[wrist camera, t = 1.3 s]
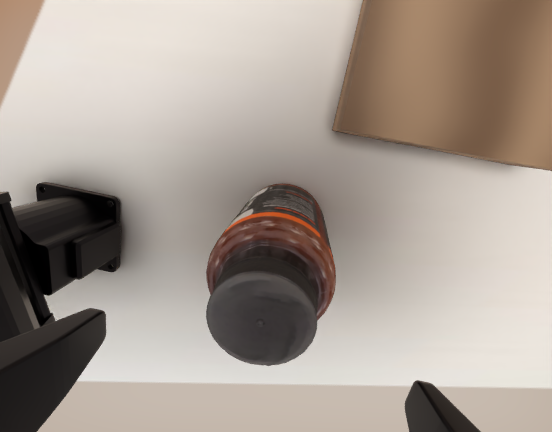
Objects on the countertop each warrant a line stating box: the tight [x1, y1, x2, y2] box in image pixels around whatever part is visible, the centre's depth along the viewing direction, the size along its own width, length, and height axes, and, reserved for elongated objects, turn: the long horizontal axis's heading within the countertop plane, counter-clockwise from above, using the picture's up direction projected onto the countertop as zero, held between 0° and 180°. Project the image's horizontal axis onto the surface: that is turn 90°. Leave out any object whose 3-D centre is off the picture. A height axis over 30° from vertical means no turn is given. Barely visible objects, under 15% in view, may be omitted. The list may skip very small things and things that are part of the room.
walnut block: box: [332, 0, 552, 171], centre depth 14 cm, size 12×12×4 cm
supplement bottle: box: [206, 184, 336, 366], centre depth 15 cm, size 6×6×11 cm
